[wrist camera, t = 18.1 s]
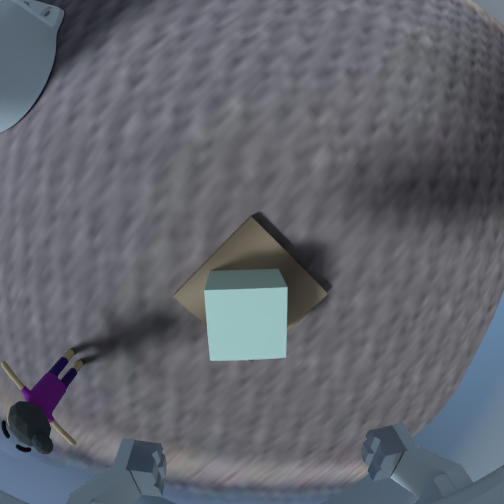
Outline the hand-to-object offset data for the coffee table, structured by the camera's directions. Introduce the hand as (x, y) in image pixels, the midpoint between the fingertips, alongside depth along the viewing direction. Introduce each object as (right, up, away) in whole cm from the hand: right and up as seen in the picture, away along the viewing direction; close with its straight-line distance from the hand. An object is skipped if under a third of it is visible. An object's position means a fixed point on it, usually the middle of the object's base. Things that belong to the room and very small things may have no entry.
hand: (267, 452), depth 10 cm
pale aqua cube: (-1, +3, +18) cm, 18 cm away
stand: (-1, +4, +19) cm, 19 cm away
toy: (-20, -4, +20) cm, 28 cm away
